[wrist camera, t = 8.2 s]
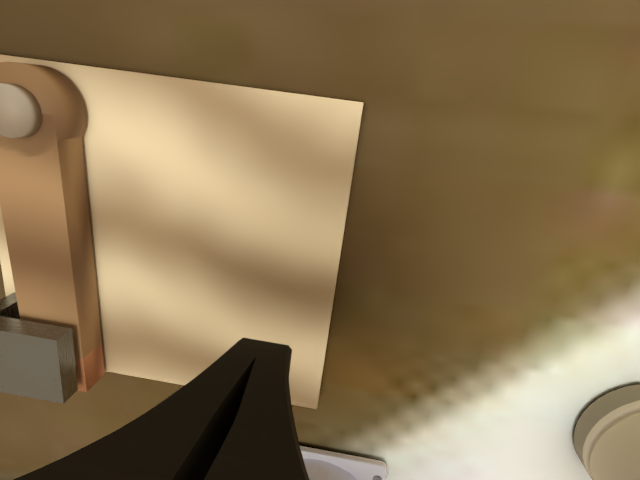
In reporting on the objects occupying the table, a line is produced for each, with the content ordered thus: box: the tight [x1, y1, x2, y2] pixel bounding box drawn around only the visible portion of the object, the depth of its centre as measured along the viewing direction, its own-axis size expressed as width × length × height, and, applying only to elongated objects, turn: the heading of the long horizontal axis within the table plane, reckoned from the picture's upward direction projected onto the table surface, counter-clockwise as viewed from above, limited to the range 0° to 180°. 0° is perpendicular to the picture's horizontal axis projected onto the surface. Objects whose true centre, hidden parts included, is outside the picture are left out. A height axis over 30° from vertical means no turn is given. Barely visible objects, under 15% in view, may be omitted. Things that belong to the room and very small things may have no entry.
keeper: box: [0, 292, 78, 404], centre depth 20 cm, size 4×5×3 cm
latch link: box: [0, 62, 105, 392], centre depth 18 cm, size 15×4×2 cm, turn 174°
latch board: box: [0, 55, 363, 409], centre depth 20 cm, size 16×17×1 cm
